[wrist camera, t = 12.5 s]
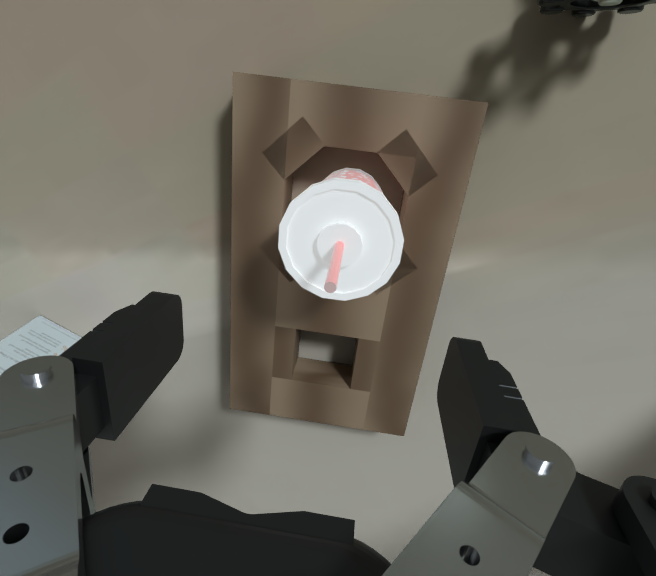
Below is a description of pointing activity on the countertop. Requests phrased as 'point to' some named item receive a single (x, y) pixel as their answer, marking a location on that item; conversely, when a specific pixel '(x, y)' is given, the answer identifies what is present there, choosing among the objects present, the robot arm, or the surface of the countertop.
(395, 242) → the beverage cup
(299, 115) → the socket plate
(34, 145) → the countertop surface
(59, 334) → the small box
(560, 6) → the valve
